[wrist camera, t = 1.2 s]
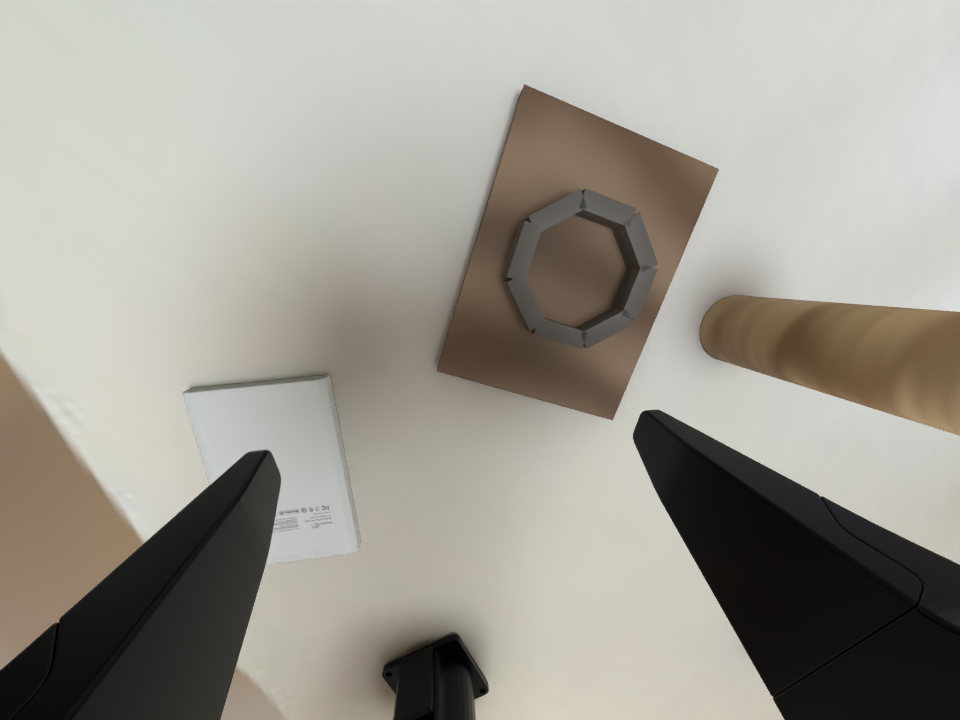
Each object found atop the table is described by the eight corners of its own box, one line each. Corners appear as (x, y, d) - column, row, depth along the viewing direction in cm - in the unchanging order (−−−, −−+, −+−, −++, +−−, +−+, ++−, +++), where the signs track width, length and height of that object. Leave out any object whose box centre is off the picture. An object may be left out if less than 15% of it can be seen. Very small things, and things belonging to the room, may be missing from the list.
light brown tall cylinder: (767, 344, 24) (1064, 408, 13) (708, 370, 24) (950, 459, 13) (754, 284, 23) (1066, 295, 11) (692, 312, 23) (941, 351, 12)
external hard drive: (332, 371, 22) (363, 537, 25) (197, 384, 22) (245, 552, 25) (324, 379, 21) (358, 554, 24) (177, 393, 20) (231, 571, 23)
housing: (605, 414, 24) (623, 430, 22) (437, 366, 22) (436, 378, 20) (706, 173, 21) (740, 161, 19) (520, 94, 19) (531, 68, 17)
